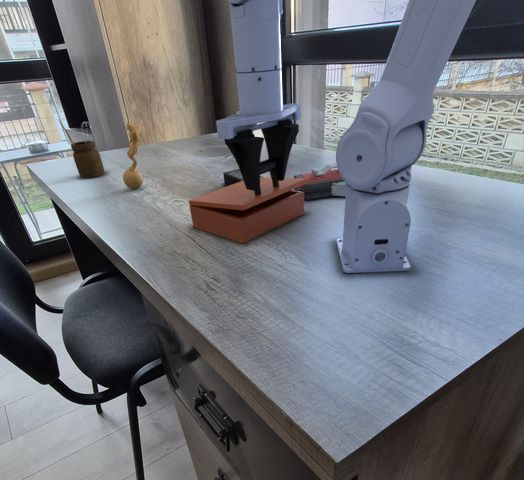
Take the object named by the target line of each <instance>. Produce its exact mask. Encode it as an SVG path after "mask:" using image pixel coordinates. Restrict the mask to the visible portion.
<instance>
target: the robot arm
mask: <svg viewBox="0 0 524 480" xmlns="http://www.w3.org/2000/svg"><path fill="white" fill-rule="evenodd" d="M226 1H227V2H228V3H229V12H230V25H231V33H232V35H231V36H232V44H233V56H234V67H235V73H236V75H235V77H236V87H237V97H238V98H237V99H238V111H236V113H235V114H232V115H230V116H227V117H225V118H222V119H218V120H216V121H215V125H216V132H217V133H216V134H217V138H218V139H223V141H224V144H225V146H226V147H227V148H228V150H229V151H230V153H231V154H232V157H233V158H234V160H235V163H236V164H237V166H238V169H240V172H241V174H242V177H243V180H244V183H245V186H246V189H248V190H253V191H258V190H259V188H260V176H261V175H260V162H261V156H262V149H263V145H264V143H265V146H266V147H265V148H266V152H267V159H270V158H273V157H276V158H277V159H278V160H279V167H278V168H277V172H278V180H279V181H283V180H284V178H286V172H287V167H288V162H289V158H290V155H291V151H292V148H293V145H294V143H295V140H296V139H297V136H298V134H299V132H300V131H299V130H300V126H299V124H298V123H292V121H301V120H302V104H301V103H287V104H283V78H282V77H283V76H282V74H283V73H282V50H281V48H282V46H281V19H282V15H283V14H284V13H283V11H284V9H283V1H284V0H226ZM476 2H477V0H408V3H407V5H406V8H405V11H404V14H403V16H402V19H401V22H400V24H399V27H398V30H397V32H396V36H395V38H394V41H393V44H392V47H391V49H390V52H389V54H388V57H387V60H386V63H385V65H384V69H383V71H382V73H381V76H380V79H379V81H378V82H377V84H376V85H375V86H374V87H373V88H372V90H371V91H370V92H369V93H368V95H367V96H366V97H365V98H364V100H363V101H362V102H361V104H360V105H359V106H358V109H357V112H356V115H355V118H354V120H353V121H352V123H351V125H350V126H349V127H348V128H347V129H346V130H345V131H344V132H343V134H342V135H341V136H340V138H339V141H338V142H337V146H336V150H335V163H337V168H336V169H338V171H339V173H340V175H341V177H342V178H343V179H344V181H345V188H346V196H345V200H344V214H343V230H342V237H339V238H337V239H336V240H335V243H336V247H337V251H338V255H339V259H340V263H341V268H342V271H343V273H346V274H352V273H353V274H355V273H380V272H383V273H384V272H407V271H408V272H409V271H410V270H411V268H412V266H411V263H410V261H409V260H408V258H407V256H406V251H407V245H408V240H409V234H410V228H411V223H412V220H411V219H412V218H411V213H410V210H409V207H408V205H407V204H408V200H409V199H408V198H409V193H410V186H411V181H412V167H413V166H414V165H415V164H416V163H417V162H418V161H419V160H420V159H421V158H422V156H423V153H424V151H425V148H426V145H427V133H428V126H429V123H430V121H431V119H432V116H433V115H434V112H435V103H434V91H435V89H436V87H437V85H438V83H439V81H440V78H441V77H442V75H443V72H444V71H445V68H446V66H447V64H448V61H449V59H450V57H451V55H452V53H453V50H454V49H455V47H456V44H457V42H458V40H459V37H460V36H461V34H462V31H463V29H464V27H465V25H466V23H467V21H468V18H469V16H470V14H471V12H472V11H473V8H474V6H475V4H476ZM260 130H261V133H262V136H255V133H253V132H255V131H260ZM269 175H270V178H271V179H272V175H271V171H269Z"/></svg>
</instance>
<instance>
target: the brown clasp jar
mask: <svg viewBox="0 0 524 480" xmlns="http://www.w3.org/2000/svg"><path fill="white" fill-rule="evenodd" d="M58 122H59V123H60V125H61V127H62V128H63V131H64V132H65V133H66V135H67V137H68V139H69V140H70V142H71V143H72V144H70V145H71V150H72V151H73V153H72V156H73V161H74V163H75V167H76V169H77V172H78V175H79V177H80V178H81V179H82V178H83V179H91V178H97V177H100V176H103V175H104V174H105V168H104V164H103V161H102V157H101V154H100V152H99V150H97V148H96V147H97V146H96V144H95V141H93V138H94V137H90V140H89V136H86V137H87V140H86V139H85V138H86V137H85V132H84V130H83V129H84V124H85V126H89V131H90V136H93V134H94V132H93V130H92V128H93V126H92V125H91V124H89V122H88V121H83V122H82V124H81V128H80V129H81V130H80V131H81V132H82V134H81V136H82V138H83V140H81V141H76V142H74V141H73V139H72V138H71V136H70V134H69V133H68V130H67V129H66V128H65V126H64V125H63V122H62V121H61V120H60V119H58ZM87 124H88V125H87ZM85 130H86V133H89V131H88V129H85Z"/></svg>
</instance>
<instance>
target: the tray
mask: <svg viewBox="0 0 524 480" xmlns="http://www.w3.org/2000/svg"><path fill="white" fill-rule="evenodd" d="M189 210H190V211H189V212H190V216H191V222H192V226H193V228H195V229H197V230H201V231H203V232H206V233H209V234H213V235H216V236H219V237H221V238H225V239H228V240H230V241H233V242H236V243H239V244H245V243H248V242H249V241H251V240H253V239H255V238H258V237H260V236H262V235H264V234H266V233H267V232H270V231H272V230H274V229H275V228H276V229H277V228H278V227H280V226H282V225H284V224H285V223H288V222H290V221H292V220H294V219H296V218H298V217H300V216H302V215H304V214H305V199H304V192H301V191H296V190H294V189H292V190H290V191H288V192H285V193H283V194H281V195H278V196H276V197H274V198H271V199H269V200H267V201H264V202H262V203H259V204H257V205H255V206H252V207H250V208H248V209H245V210H234V209H224V208H214V207H204V206H194V205H189Z"/></svg>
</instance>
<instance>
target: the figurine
mask: <svg viewBox="0 0 524 480" xmlns="http://www.w3.org/2000/svg"><path fill="white" fill-rule="evenodd" d="M126 130H128V131H129V132H128V135H129V141H128V143H127V148H128V150H127V153H126V155H127V157H128V158H129V159H130V160H131V161H132V164H131V166H129V167H128V169H126V170H125V171H124V172H123V173H122V181H123V183H124V185H125V186H126V187H127V188H129V189H131V190H138V189H140V188H141V187H142V186H143V183H144V176H143V175H142V173H141V172H140V170H138V169H136V167H137V165H138V161H137V158H136V157H135V156H137V155H138V148H139V145H140V141H141V138H142V135H143V129H142V127H141V126H140V125H137V124H136V125H135V124H132V123H130V122H127V123H126Z"/></svg>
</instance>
